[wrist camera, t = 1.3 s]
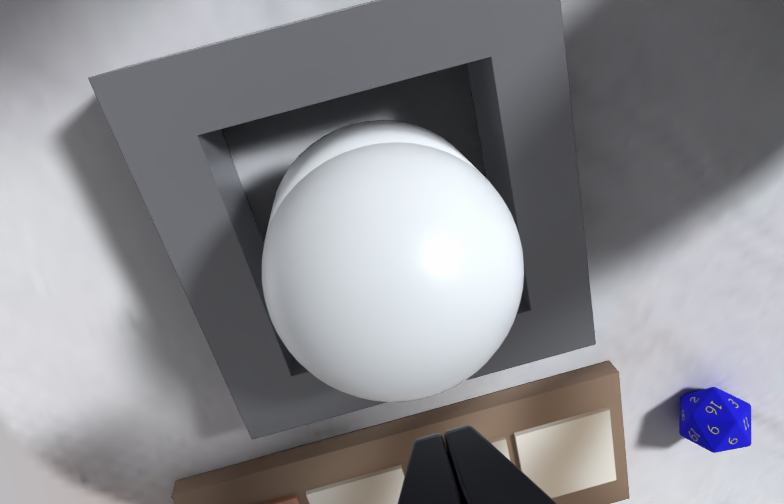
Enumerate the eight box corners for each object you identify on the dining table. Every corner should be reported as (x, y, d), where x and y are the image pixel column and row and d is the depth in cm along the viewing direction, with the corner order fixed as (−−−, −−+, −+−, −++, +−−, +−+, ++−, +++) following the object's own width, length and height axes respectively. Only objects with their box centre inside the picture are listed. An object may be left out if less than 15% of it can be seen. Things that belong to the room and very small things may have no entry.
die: (706, 361, 24) (779, 407, 22) (688, 393, 26) (754, 438, 24) (672, 400, 23) (746, 452, 21) (655, 430, 25) (722, 480, 23)
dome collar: (516, -38, 17) (555, -46, 14) (560, 301, 22) (595, 344, 19) (125, 66, 17) (87, 77, 14) (260, 385, 22) (252, 439, 19)
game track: (609, 360, 23) (621, 375, 22) (620, 484, 26) (631, 501, 25) (175, 481, 23) (170, 500, 22) (237, 592, 26) (234, 614, 25)
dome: (462, 91, 16) (548, 140, 10) (498, 287, 18) (582, 416, 13) (240, 151, 16) (195, 236, 10) (308, 339, 18) (304, 494, 12)
